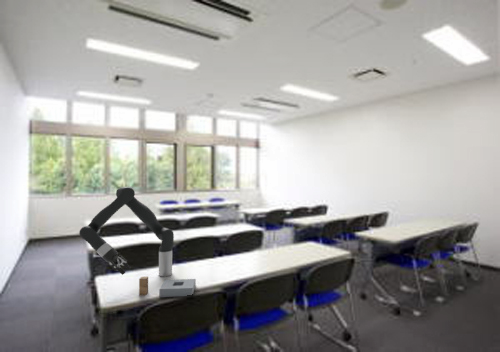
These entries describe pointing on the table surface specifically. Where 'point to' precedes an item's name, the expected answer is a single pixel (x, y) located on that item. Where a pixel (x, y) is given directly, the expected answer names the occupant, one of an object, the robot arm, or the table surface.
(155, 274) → the table surface
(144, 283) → the walnut peg
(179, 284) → the dock socket
